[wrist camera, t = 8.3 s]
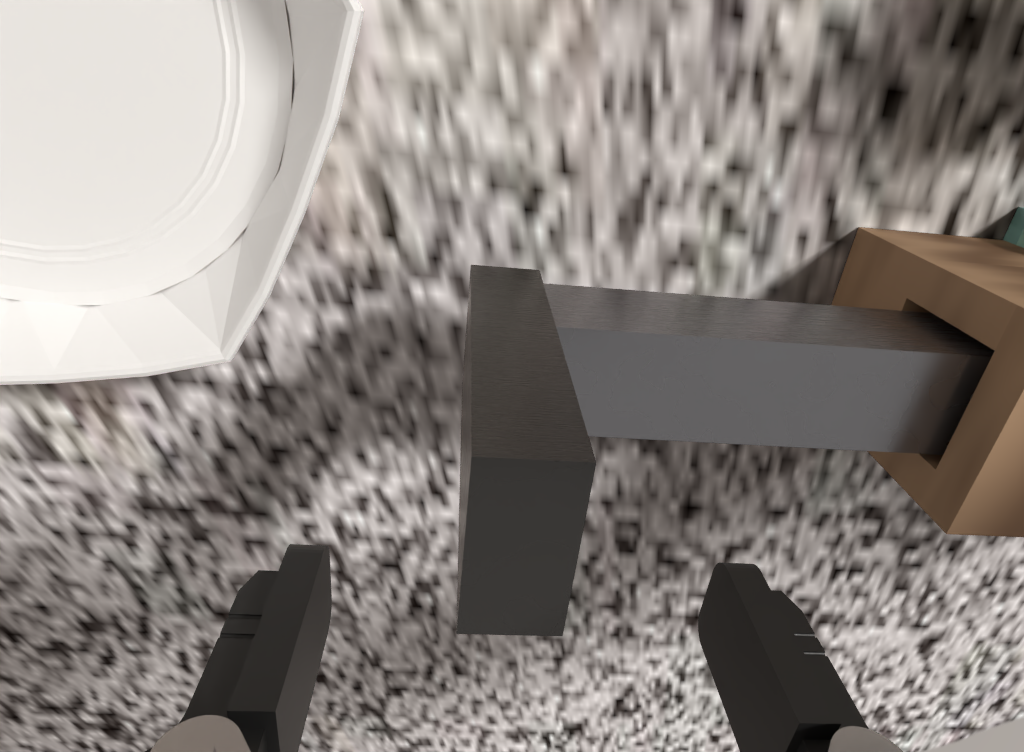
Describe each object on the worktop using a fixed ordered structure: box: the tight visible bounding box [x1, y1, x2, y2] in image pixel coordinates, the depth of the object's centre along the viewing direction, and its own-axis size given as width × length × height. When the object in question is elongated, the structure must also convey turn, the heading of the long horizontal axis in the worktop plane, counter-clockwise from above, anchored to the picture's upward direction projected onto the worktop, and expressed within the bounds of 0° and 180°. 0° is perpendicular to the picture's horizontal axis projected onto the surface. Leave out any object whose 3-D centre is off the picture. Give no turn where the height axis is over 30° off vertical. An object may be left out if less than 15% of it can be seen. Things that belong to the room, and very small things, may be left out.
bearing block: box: [831, 227, 1024, 537], centre depth 26 cm, size 7×8×11 cm
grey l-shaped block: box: [456, 265, 995, 636], centre depth 20 cm, size 21×5×12 cm, turn 84°
